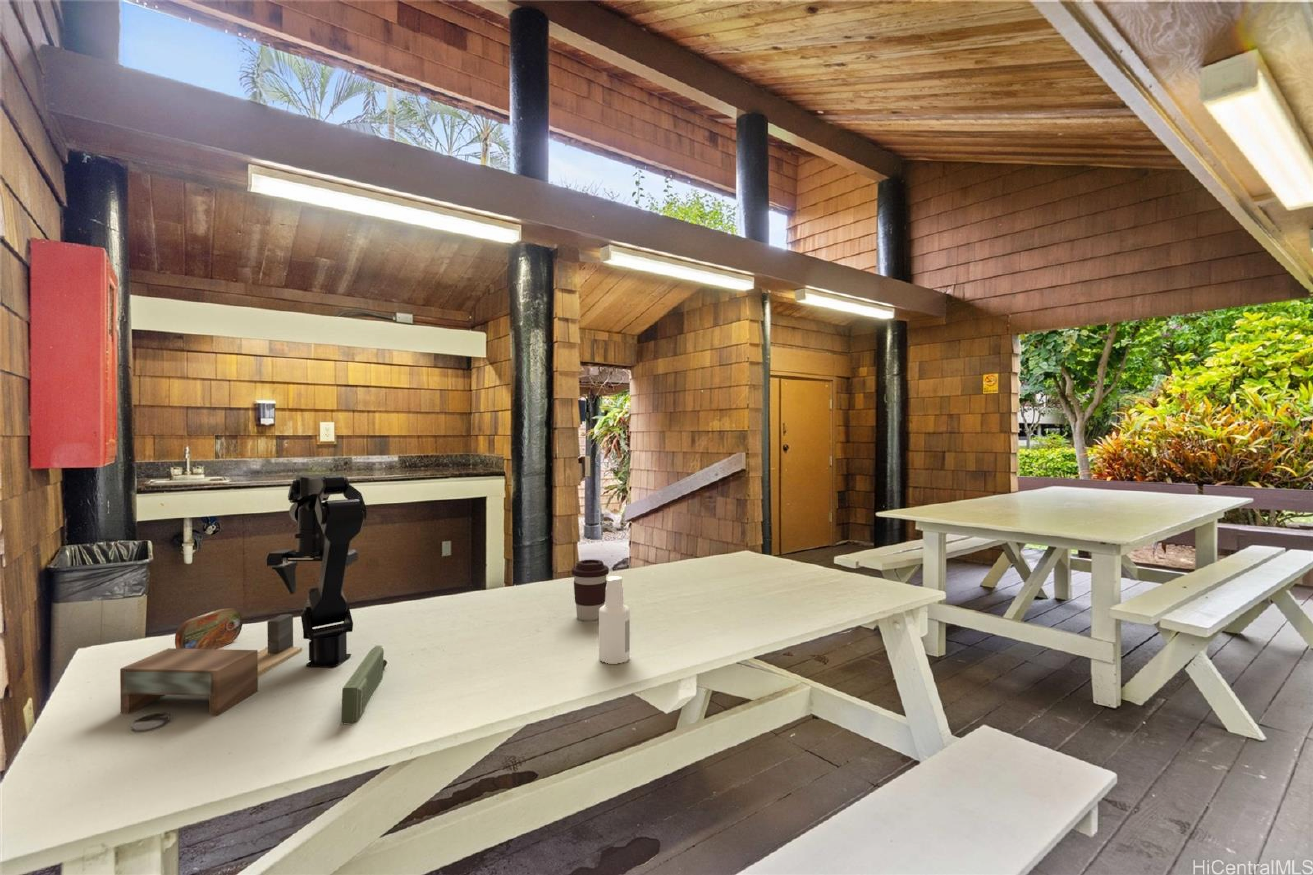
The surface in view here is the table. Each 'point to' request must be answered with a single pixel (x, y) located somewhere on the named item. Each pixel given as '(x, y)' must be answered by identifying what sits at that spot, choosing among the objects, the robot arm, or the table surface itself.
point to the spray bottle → (614, 624)
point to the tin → (209, 630)
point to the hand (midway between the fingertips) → (312, 593)
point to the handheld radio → (362, 685)
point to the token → (150, 722)
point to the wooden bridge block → (191, 677)
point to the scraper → (277, 643)
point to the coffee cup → (589, 588)
